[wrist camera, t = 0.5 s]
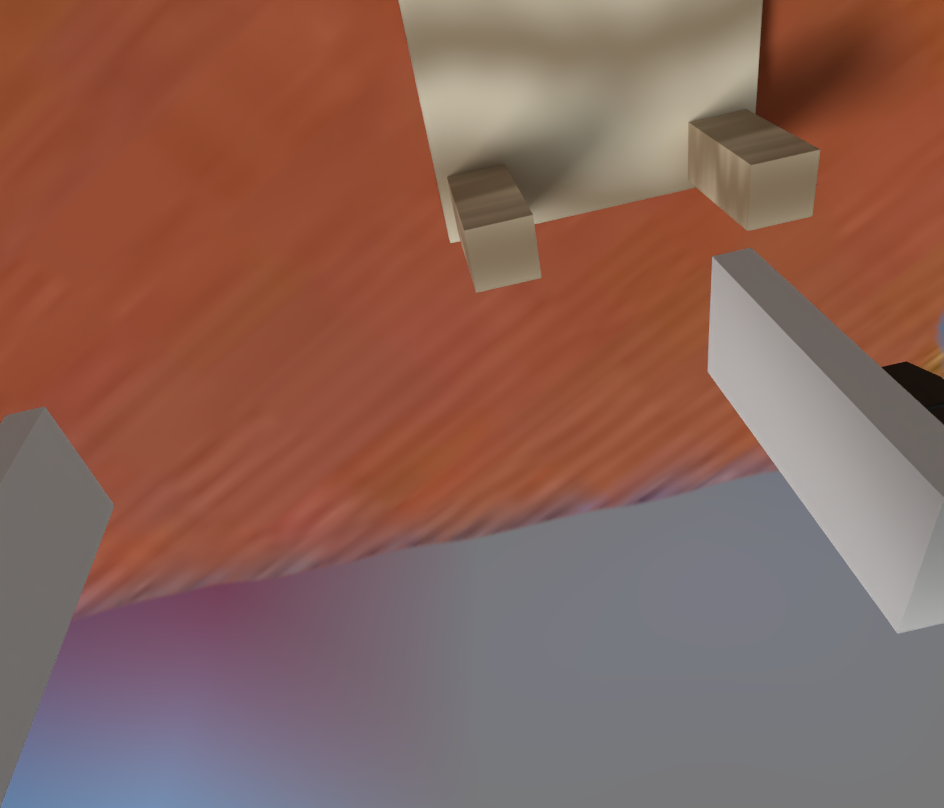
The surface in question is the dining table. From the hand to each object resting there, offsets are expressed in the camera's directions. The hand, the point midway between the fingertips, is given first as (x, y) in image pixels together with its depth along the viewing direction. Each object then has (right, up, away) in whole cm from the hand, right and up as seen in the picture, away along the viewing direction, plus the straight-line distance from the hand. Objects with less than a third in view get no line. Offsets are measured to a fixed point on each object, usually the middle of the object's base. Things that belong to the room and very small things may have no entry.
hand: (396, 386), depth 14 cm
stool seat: (+7, +17, +19) cm, 27 cm away
